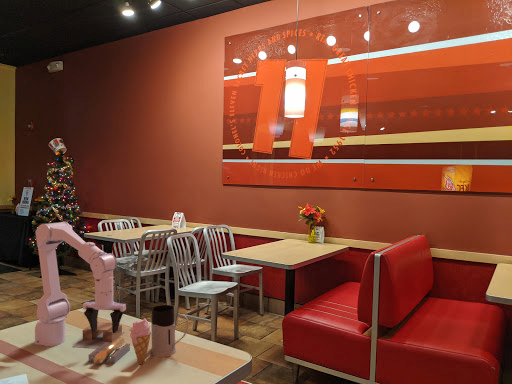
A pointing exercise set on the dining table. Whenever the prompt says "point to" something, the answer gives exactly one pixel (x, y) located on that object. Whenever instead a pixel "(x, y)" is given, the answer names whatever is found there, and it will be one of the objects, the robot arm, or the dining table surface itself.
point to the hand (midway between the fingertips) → (104, 331)
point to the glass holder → (164, 330)
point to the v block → (113, 357)
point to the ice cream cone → (140, 339)
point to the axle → (108, 350)
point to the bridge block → (99, 336)
